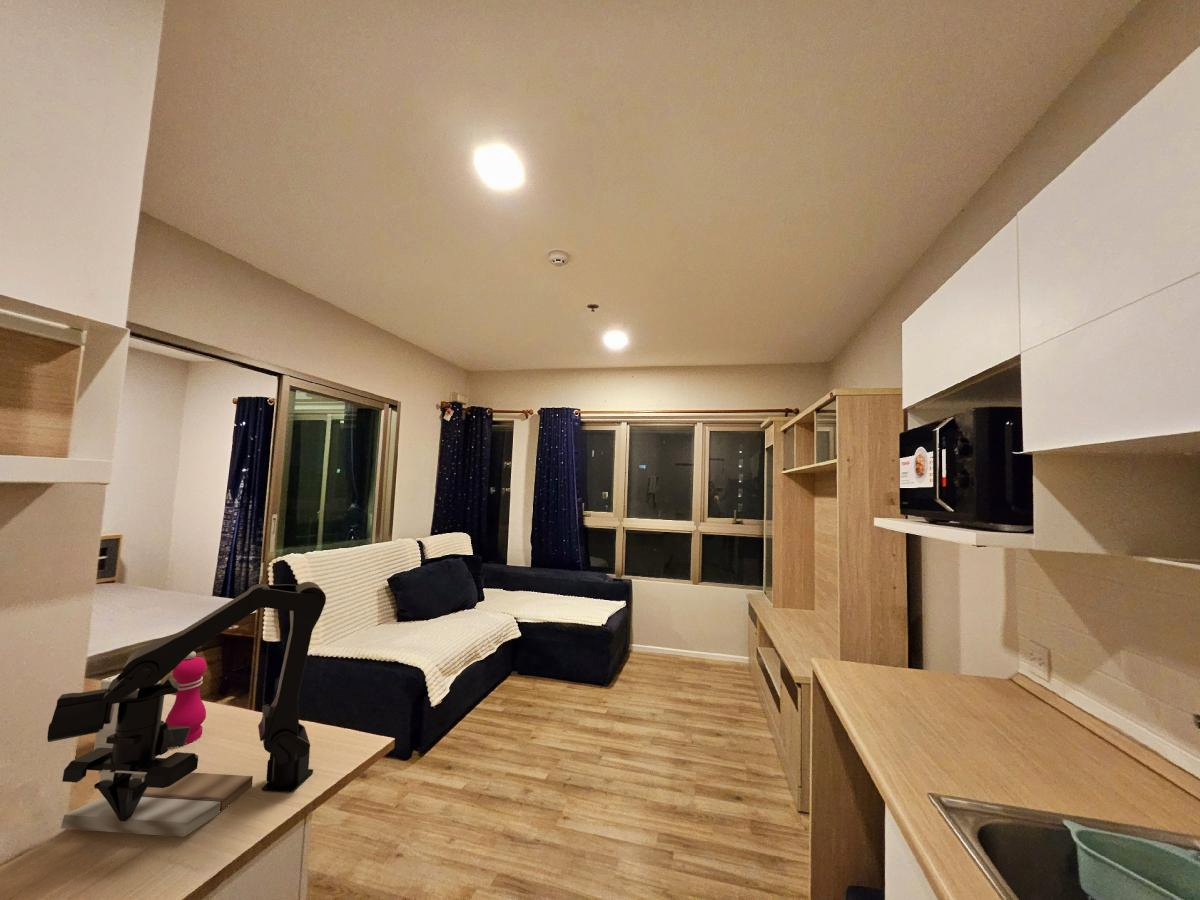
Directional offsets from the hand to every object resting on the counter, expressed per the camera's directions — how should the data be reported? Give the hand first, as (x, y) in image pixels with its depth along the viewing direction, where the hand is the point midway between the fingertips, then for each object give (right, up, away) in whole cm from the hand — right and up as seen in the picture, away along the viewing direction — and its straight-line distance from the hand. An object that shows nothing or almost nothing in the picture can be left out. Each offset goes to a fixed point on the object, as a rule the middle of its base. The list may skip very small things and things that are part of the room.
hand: (125, 819), depth 78 cm
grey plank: (0, -3, +3) cm, 4 cm away
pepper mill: (-16, -4, +29) cm, 33 cm away
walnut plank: (0, -4, +10) cm, 11 cm away
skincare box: (-27, -4, +26) cm, 38 cm away
